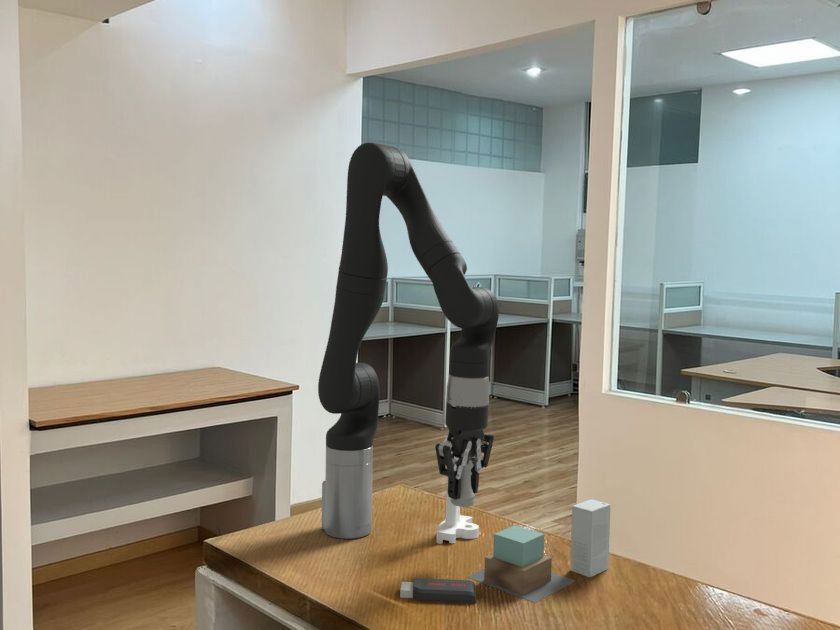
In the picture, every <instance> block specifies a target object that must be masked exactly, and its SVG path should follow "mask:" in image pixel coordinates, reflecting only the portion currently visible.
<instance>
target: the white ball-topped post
mask: <svg viewBox="0 0 840 630" xmlns="http://www.w3.org/2000/svg"><path fill="white" fill-rule="evenodd" d="M446 441H447V437H446V438H445V439H444V440H443V443H444V442H446ZM454 458H455V459H456V460H458V459H459V458H456V457H455V456H454ZM454 471H456V465H454ZM450 499H452V498H450V497H449V496H448V482H447V484H446V502H445V519H444V520H443V521H441V522H440V523H439V525H438V526H437V529H436V543H437V544H440V545H442V544H443V542H444V541H448V543H449V544H456V539H460V538H461V539H465V540H472V539H473V540H474V539H477V538H479V535H480V532H479V531H480V527H479V526H480V525H478V524H476V523H473V516H469V515H461V507H459V506H455V505H453V504H452V503H451V500H450Z"/></svg>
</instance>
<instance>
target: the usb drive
mask: <svg viewBox="0 0 840 630" xmlns="http://www.w3.org/2000/svg"><path fill="white" fill-rule="evenodd" d="M399 593H400V594H399V595H400V596H399V597H400V598H401V599H413V600H414V601H419V602H431V603H432V602H434V603H435V602H436V603H438V602H439V603H460V604H461V603H462V604H463V603H464V604H468V603H469V604H477V594H476V593H477V592H476V585H475V582H474V580H468V579H467V580H466V579H447V578H445V579H441V578H422V577H421V578H419V577H414V578H413V581H401V585H400V591H399Z"/></svg>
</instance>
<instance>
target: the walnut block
mask: <svg viewBox="0 0 840 630" xmlns="http://www.w3.org/2000/svg"><path fill="white" fill-rule="evenodd" d="M552 557H553V556H552ZM552 557H551V556H549V555H548V556H547V555H545V554H544V555H543V558H541V559H539V560H537V561H535V562H533V563H531V564H529V565H527V566H524V567H520V566H517V565H514V564H512V563H509V562H506V561H503V560H500V559H497V558H494V557H493V553H492V554H489V555H487V556H485V557H484V567H483V569H484V580H485V581H487V582H490V583H493V584H495V585H498V586H501V587H503V588H506V589H509V590H511V591H514V592H517V593H519V594H522V595H524V594H526V593H528V592H530V591H532V590H534V589H536V588H538V587H540V586H542V585H544V584H545V583H547V582H549V581H551V572H552V564H553V563H552V561H553V558H552Z"/></svg>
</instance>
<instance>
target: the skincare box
mask: <svg viewBox="0 0 840 630" xmlns="http://www.w3.org/2000/svg"><path fill="white" fill-rule="evenodd" d="M610 529H611V503H607V502H604V501H600V500H596V499H593V498H590V499H587V500H585V501H582V502H580V503H577V504H574V505H572V508H571V537H570V538H571V539H570V571H571V572H573V573H577V574H578V575H582V576H584V577H588V578H592V577H594V576H596V575H598V574H600V573H603V572H604V571H607V570H609V568H610V567H609V566H610V565H609V564H610V562H609V560H610V537H611V536H610V532H611V531H610Z"/></svg>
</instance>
